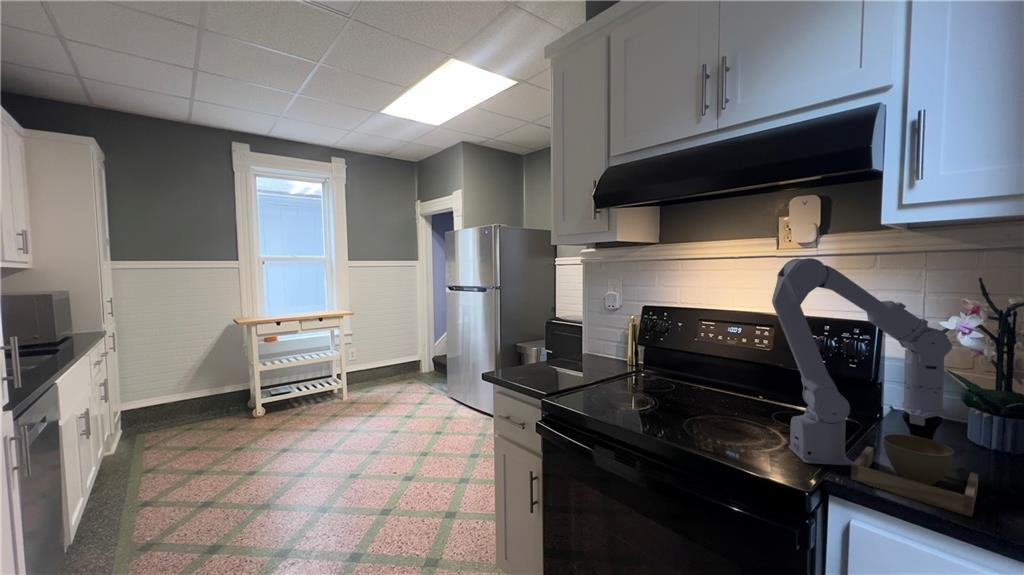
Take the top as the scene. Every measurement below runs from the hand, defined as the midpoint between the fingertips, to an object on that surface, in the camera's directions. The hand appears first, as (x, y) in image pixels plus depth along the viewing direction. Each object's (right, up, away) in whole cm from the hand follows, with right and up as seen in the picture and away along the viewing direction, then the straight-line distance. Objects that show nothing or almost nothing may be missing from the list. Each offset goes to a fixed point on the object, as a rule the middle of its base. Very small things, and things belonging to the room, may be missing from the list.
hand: (921, 450), depth 86 cm
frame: (-7, -4, -5) cm, 10 cm away
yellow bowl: (-5, -4, -4) cm, 8 cm away
